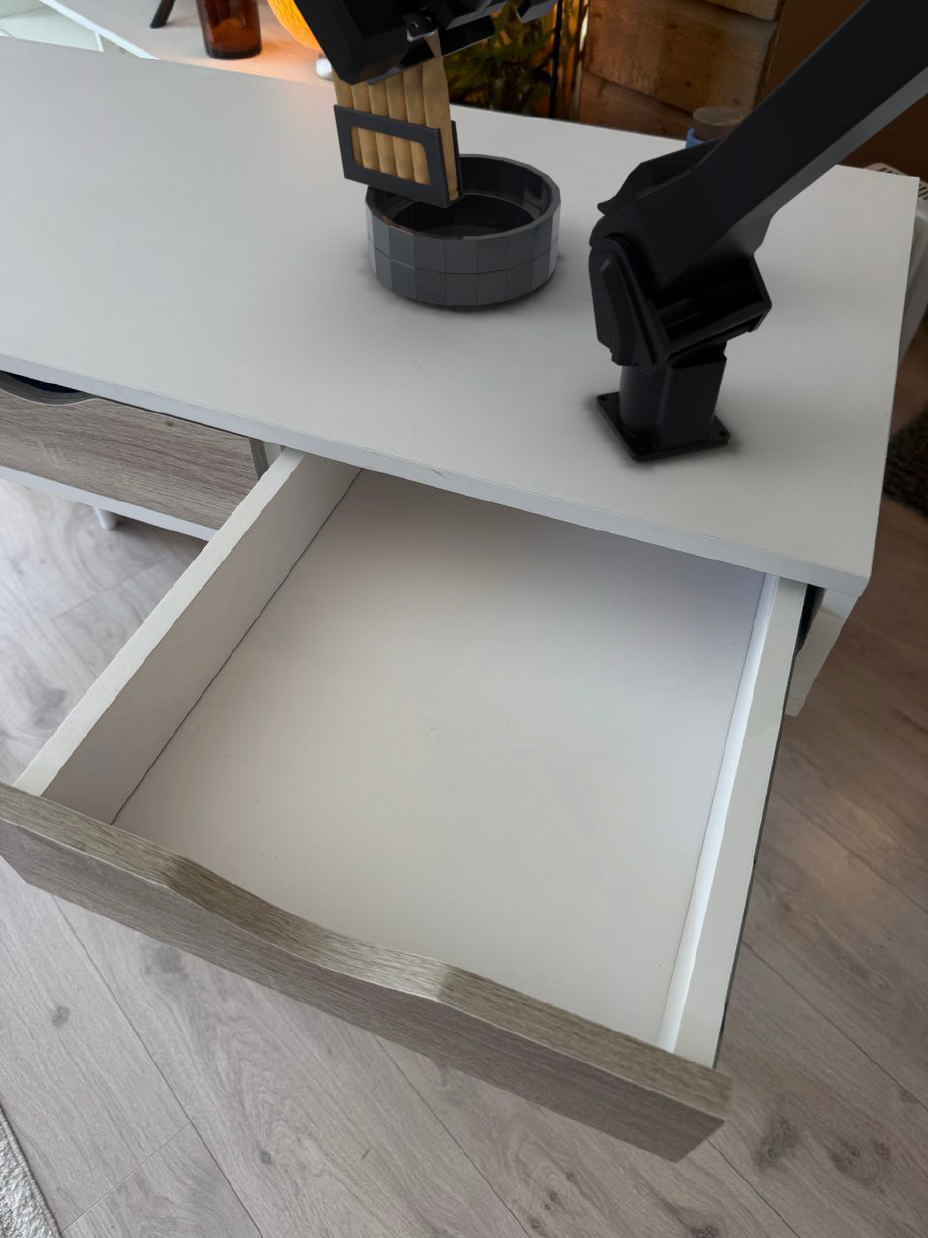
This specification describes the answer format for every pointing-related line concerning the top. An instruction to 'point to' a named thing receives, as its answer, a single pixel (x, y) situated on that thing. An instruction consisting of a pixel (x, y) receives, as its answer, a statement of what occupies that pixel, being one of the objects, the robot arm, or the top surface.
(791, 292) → the top surface
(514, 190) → the bowl
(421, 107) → the ammunition clip
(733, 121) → the perfume bottle
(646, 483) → the top surface
